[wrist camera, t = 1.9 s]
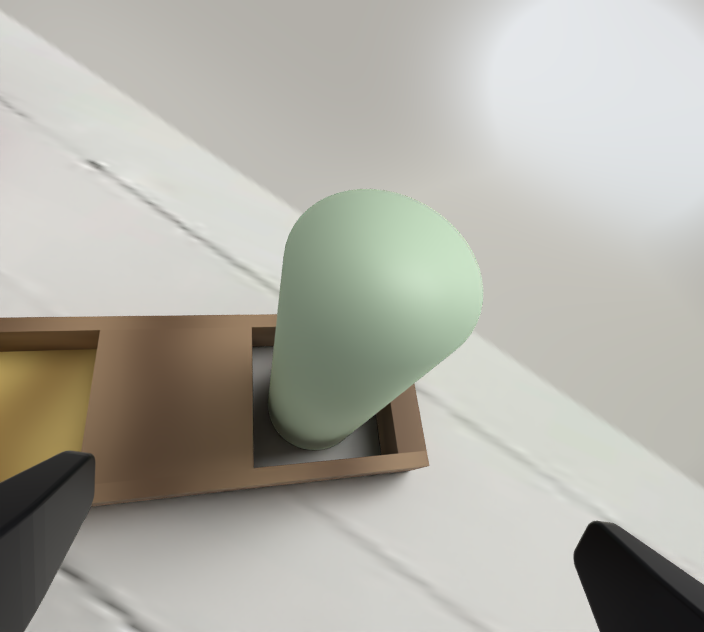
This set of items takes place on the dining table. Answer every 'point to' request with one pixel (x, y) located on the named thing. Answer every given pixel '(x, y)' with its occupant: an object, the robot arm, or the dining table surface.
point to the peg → (365, 311)
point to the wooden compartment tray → (160, 406)
